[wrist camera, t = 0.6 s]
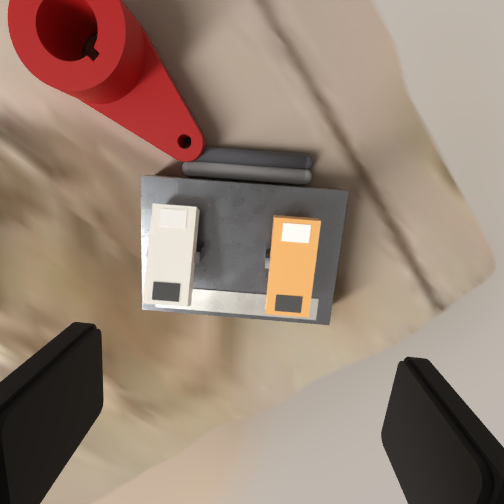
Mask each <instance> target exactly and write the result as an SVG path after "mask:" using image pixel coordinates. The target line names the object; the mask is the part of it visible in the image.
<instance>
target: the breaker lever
mask: <svg viewBox="0 0 504 504" xmlns="http://www.w3.org/2000/svg"><path fill="white" fill-rule="evenodd" d="M320 226H321V221H320V220H319V219H318V218H306V217H294V216H281V215H274V218H273V229H272V240H271V251H270V258H265V268H268V269H269V273H268V284H267V295H266V307H265V309H266V314H272V315H284V316H296V317H308V318H309V312H310V304H311V296H312V288H313V280H314V273H315V272H317V269H318V262H316V257H317V249H318V241H319V233H320Z"/></svg>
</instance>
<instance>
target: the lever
mask: <svg viewBox="0 0 504 504" xmlns="http://www.w3.org/2000/svg"><path fill="white" fill-rule="evenodd" d="M8 26H9V33H10V37H11V40H12V43H13V46H14V48H15V50H16V52H17V54H18V56H19V58H20V59H21V61H22V62H23V64H24V65H25V66H26V68H27V69H28V70H29V71H30V72H31V73H32V74H33V75H34V76H35V77H37V78H38V79H39V80H41V81H42V82H44V83H46V84H47V85H49V86H51V87H54V88H56V89H58V90H60V91H62V92H64V93H67V94H69V95H71V96H73V97H75V98H77V99H79V100H81V101H82V102H84V103H86V104H87V105H89V106H90V107H92V108H94V109H95V110H97V111H99V112H100V113H102V114H103V115H105V116H107V117H108V118H110V119H112V120H113V121H115V122H116V123H118V124H120V125H121V126H123V127H125V128H126V129H128V130H129V131H131V132H133V133H134V134H136V135H138V136H139V137H141V138H142V139H144V140H146V141H147V142H149V143H151V144H152V145H154V146H155V147H157V148H159V149H160V150H162V151H164V152H165V153H167V154H168V155H170V156H172V157H173V158H175V159H177V160H179V161H183V162H194V161H196V160H197V159H198V158H199V157H200V156H201V154H202V153H203V150H204V148H205V146H206V140H205V137H204V135H203V134H202V132H201V130H200V128H199V126H198V125H197V123H196V121H195V119H194V118H193V116H192V114H191V112H190V110H189V109H188V107H187V105H186V103H185V102H184V100H183V98H182V96H181V94H180V93H179V91H178V89H177V87H176V86H175V84H174V82H173V80H172V78H171V77H170V75H169V73H168V71H167V70H166V68H165V66H164V64H163V62H162V61H161V59H160V57H159V55H158V54H157V52H156V50H155V48H154V46H153V45H152V43H151V41H150V39H149V38H148V36H147V34H146V32H145V31H144V29H143V27H142V26H141V25H140V23H139V22H138V21H137V20H136V18H135V17H134V16H133V14H132V13H131V12H130V10H129V9H128V8H127V6H126V5H125V4H124V2H123V1H122V0H10V1H9V7H8ZM95 32H98V35H97V40H96V43H95V46H94V48H95V49H96V50H97V51H98V52H99V55H98V57H97V58H96V59H95V60H93V59H91V58H90V57H88V56H86V57H84V58H82V49H83V46H84V43H85V42H86V40H87V39H88V37H90V36H91V35H92V34H94V33H95ZM187 137H190V138H191V146H190V147H189V148H187V149H183V148H184V147H183V141H184V139H185V138H187Z"/></svg>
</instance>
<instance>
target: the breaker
mask: <svg viewBox="0 0 504 504" xmlns="http://www.w3.org/2000/svg"><path fill="white" fill-rule="evenodd" d="M199 213H200V210H199V209H198V208H197V207H192V206H179V205H166V204H153V205H152V215H151V225H150V234H149V244H148V250H147V264H146V274H145V284H144V293H143V304H155V305H167V306H180V307H189V306H191V300H192V289H193V278H194V267H195V263H199V262H200V252H196V245H197V235H198V224H199Z"/></svg>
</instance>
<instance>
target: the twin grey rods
mask: <svg viewBox="0 0 504 504" xmlns="http://www.w3.org/2000/svg"><path fill="white" fill-rule="evenodd" d="M190 146H191V145H188V146H185V147H184V148H183V149H187V148H189V147H190ZM312 165H313V158H312V156H311V155H309V154H302V153H289V152H275V151H261V150H248V149H234V148H221V147H207V146H205V148H204V150H203V153H202V154H201V156H200V157H199V158H198V159H197V160H196V161H194V162H184V163H183V165H182V171H183V173H184V174H185V175H187V176H196V177H209V178H222V179H235V180H249V181H262V182H275V183H288V184H301V185H305V184H308V183H309V182H310V181H311V178H312V175H311V172H310V171H309V170H308V169H310V168H311V167H312Z"/></svg>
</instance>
